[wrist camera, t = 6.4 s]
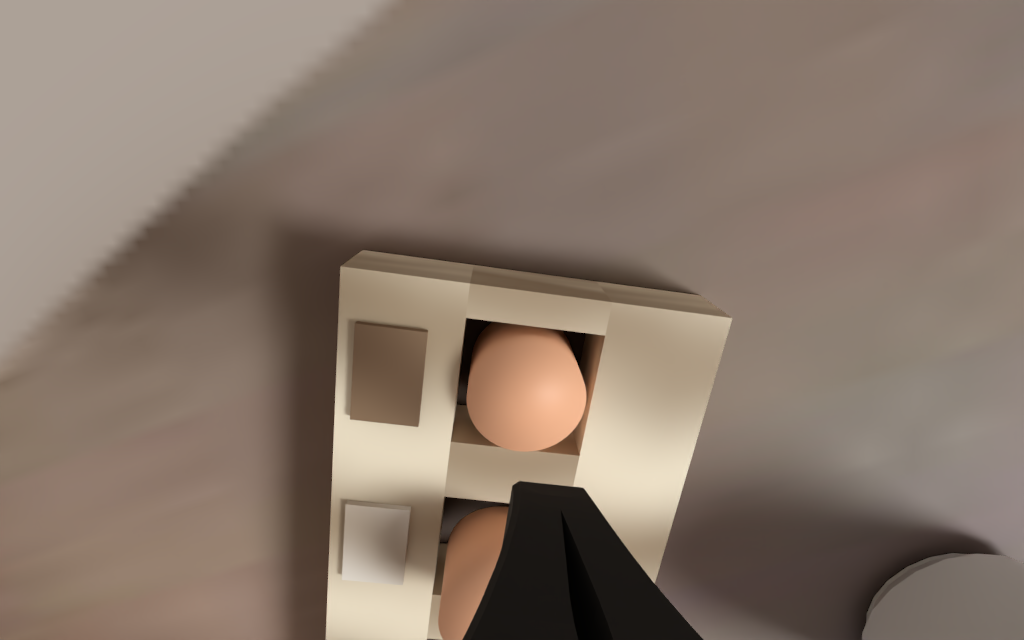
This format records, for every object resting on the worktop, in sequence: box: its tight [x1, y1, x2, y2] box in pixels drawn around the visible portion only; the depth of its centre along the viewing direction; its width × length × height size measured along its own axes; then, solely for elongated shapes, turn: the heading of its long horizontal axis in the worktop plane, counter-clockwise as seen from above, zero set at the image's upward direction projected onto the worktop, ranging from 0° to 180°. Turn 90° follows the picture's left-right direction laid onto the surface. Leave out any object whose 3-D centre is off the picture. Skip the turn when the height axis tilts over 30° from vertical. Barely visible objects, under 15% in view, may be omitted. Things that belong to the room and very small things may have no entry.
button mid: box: [438, 506, 509, 640], centre depth 16 cm, size 3×3×3 cm
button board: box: [326, 250, 732, 640], centre depth 18 cm, size 18×11×3 cm, turn 172°
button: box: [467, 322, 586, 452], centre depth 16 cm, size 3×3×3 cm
